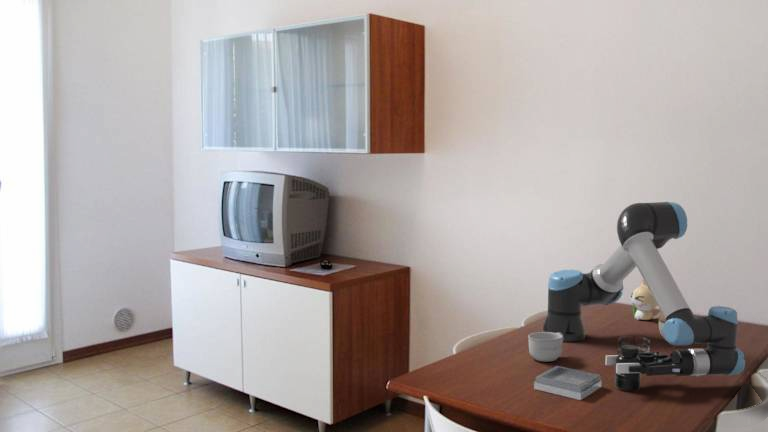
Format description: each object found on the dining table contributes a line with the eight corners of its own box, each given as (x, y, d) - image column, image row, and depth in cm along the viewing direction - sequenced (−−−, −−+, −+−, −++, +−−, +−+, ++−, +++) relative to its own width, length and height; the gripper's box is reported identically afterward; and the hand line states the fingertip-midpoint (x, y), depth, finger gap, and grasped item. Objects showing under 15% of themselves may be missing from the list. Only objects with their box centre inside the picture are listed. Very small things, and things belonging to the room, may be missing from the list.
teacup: (542, 366, 226) (543, 341, 226) (520, 356, 236) (521, 332, 235) (576, 360, 233) (577, 335, 232) (553, 351, 242) (554, 327, 242)
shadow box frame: (534, 388, 206) (534, 376, 205) (556, 376, 217) (556, 365, 216) (580, 400, 197) (581, 387, 197) (601, 386, 208) (601, 375, 207)
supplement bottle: (613, 390, 205) (615, 348, 204) (615, 382, 212) (617, 342, 210) (639, 393, 203) (641, 351, 201) (640, 385, 209) (642, 345, 208)
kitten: (622, 314, 294) (624, 278, 292) (646, 314, 295) (648, 277, 293) (639, 324, 279) (641, 285, 277) (664, 323, 280) (666, 285, 278)
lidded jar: (687, 346, 250) (688, 319, 249) (654, 341, 256) (655, 315, 255) (692, 338, 259) (693, 313, 258) (661, 334, 265) (662, 309, 264)
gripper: (706, 386, 199) (625, 389, 197) (671, 364, 218) (597, 366, 216) (707, 359, 198) (626, 362, 196) (672, 340, 218) (598, 341, 215)
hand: (611, 364), depth 206 cm, fingers closed on supplement bottle, 7 cm apart
